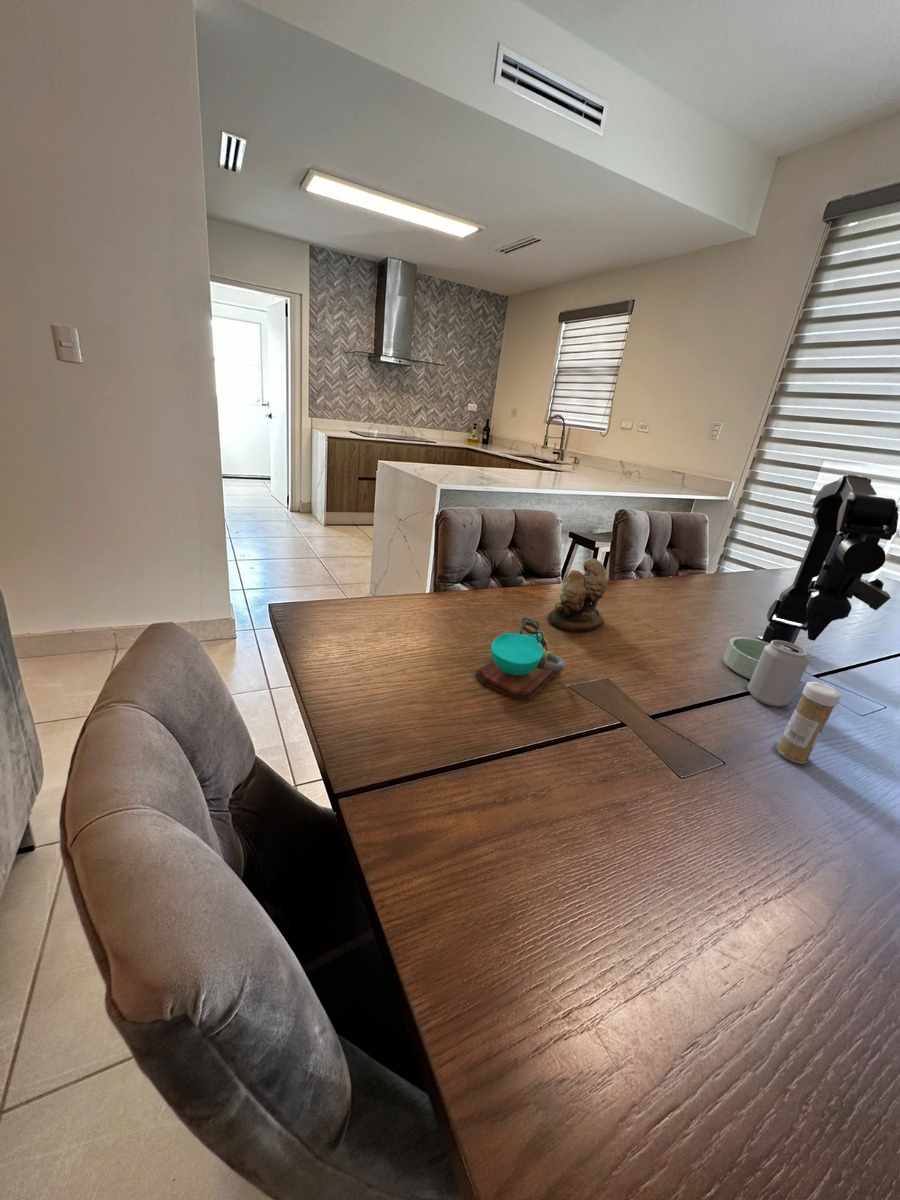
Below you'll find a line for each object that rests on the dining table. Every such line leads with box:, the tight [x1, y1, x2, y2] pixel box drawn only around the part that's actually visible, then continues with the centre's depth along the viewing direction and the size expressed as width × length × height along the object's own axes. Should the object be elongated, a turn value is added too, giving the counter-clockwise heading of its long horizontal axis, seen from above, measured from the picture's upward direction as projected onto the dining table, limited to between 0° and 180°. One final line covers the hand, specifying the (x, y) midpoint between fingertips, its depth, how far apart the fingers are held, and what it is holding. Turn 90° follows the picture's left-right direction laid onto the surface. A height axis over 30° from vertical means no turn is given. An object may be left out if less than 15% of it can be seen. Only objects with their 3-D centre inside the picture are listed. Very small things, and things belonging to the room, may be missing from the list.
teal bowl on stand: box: [475, 616, 566, 701], centre depth 91 cm, size 14×18×15 cm
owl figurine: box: [548, 557, 608, 633], centre depth 119 cm, size 18×12×17 cm, turn 136°
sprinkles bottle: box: [776, 681, 841, 765], centre depth 77 cm, size 5×5×13 cm
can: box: [747, 640, 809, 707], centre depth 94 cm, size 8×8×12 cm
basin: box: [722, 636, 770, 681], centre depth 106 cm, size 14×14×5 cm
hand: (811, 632), depth 97 cm, fingers open, 9 cm apart
